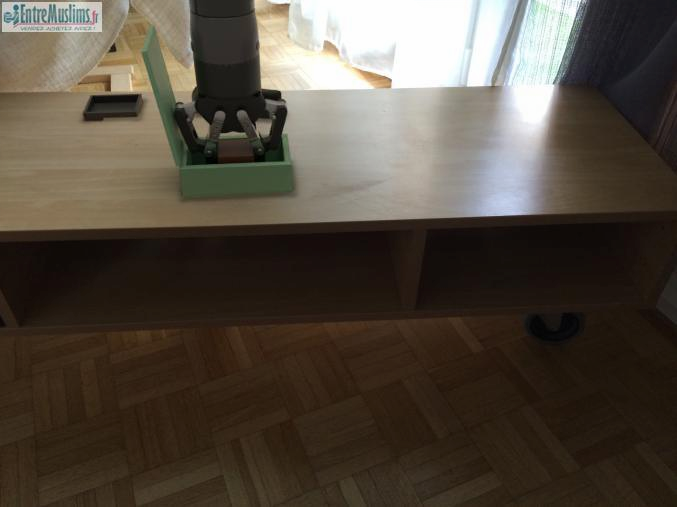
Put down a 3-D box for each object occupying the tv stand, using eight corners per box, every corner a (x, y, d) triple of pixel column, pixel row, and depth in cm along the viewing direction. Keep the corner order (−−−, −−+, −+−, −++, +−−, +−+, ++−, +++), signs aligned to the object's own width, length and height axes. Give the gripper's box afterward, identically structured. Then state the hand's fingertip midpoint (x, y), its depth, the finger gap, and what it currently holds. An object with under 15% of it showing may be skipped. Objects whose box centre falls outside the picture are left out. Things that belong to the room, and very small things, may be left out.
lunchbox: (288, 164, 84) (287, 133, 81) (292, 196, 78) (291, 164, 75) (188, 168, 83) (183, 137, 80) (184, 202, 77) (178, 168, 74)
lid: (154, 25, 71) (149, 25, 71) (146, 50, 64) (140, 51, 64) (185, 134, 80) (180, 135, 80) (180, 166, 73) (175, 166, 73)
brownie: (220, 187, 78) (217, 156, 75) (221, 169, 81) (218, 139, 79) (255, 185, 79) (253, 155, 76) (254, 167, 82) (252, 138, 79)
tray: (85, 123, 92) (82, 113, 91) (92, 104, 97) (90, 95, 96) (138, 121, 93) (136, 111, 92) (143, 102, 98) (141, 93, 97)
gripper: (287, 36, 73) (289, 160, 84) (164, 38, 71) (183, 164, 82) (291, 60, 67) (293, 190, 78) (157, 63, 66) (179, 195, 76)
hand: (237, 176), depth 80 cm, fingers closed on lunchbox, 4 cm apart
